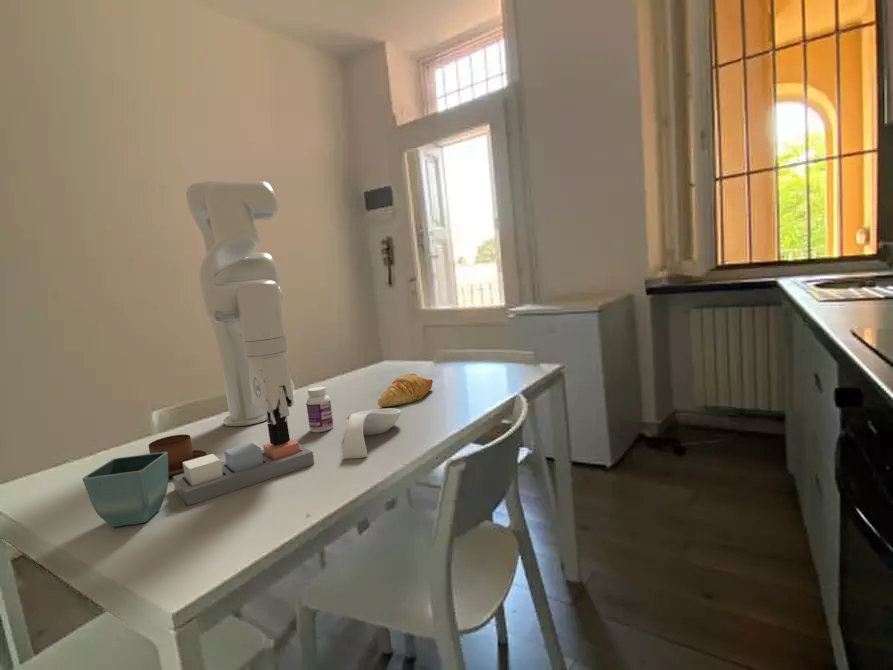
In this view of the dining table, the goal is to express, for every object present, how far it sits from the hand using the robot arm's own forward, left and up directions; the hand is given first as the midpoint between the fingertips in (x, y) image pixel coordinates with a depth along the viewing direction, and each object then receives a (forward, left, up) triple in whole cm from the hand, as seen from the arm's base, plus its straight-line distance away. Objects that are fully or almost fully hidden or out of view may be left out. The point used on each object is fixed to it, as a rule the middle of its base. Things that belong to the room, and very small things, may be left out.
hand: (280, 442), depth 100 cm
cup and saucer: (-16, -16, -5) cm, 23 cm away
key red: (0, 0, -3) cm, 3 cm away
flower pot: (+3, -25, -5) cm, 26 cm away
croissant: (-20, +42, -5) cm, 47 cm away
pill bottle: (-15, +15, -5) cm, 22 cm away
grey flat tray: (0, -7, -4) cm, 8 cm away
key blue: (0, -7, -2) cm, 7 cm away
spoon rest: (+1, +18, -5) cm, 19 cm away
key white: (0, -14, -2) cm, 14 cm away
